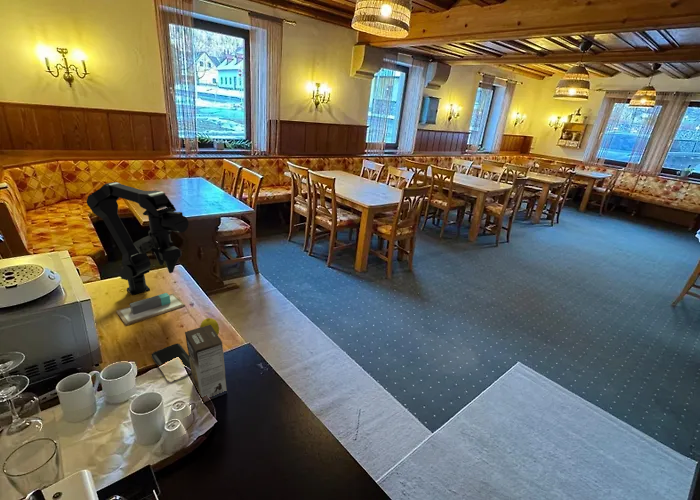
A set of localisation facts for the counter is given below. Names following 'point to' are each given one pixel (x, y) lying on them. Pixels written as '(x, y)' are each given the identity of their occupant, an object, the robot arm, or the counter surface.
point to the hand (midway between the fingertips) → (166, 268)
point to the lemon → (211, 322)
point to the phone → (171, 355)
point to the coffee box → (206, 360)
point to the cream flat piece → (149, 311)
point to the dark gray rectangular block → (149, 303)
